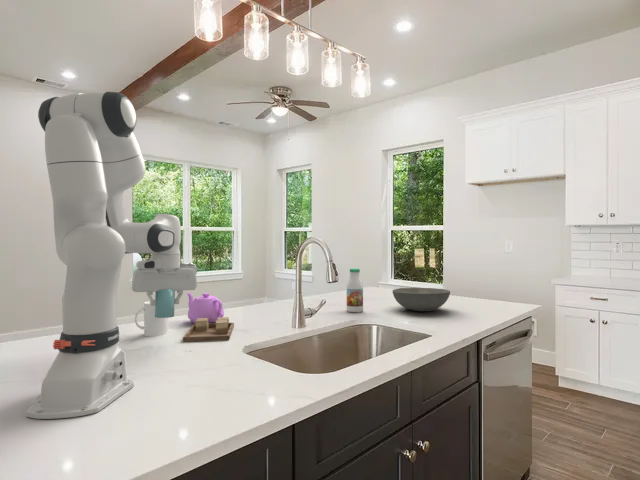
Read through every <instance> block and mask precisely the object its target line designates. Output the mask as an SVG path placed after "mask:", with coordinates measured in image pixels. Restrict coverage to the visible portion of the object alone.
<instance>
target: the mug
mask: <svg viewBox="0 0 640 480" xmlns="http://www.w3.org/2000/svg"><path fill="white" fill-rule="evenodd" d="M141 312H143V325H140V324H139V323H138V322H137V320H138V319H137V318H138V315H139V314H140V313H141ZM134 323H135V326H136V327H137V328H139V329H141V330H143V335H144V336H146V337H158V336H159V337H160V336H164V335H168V334H169V318H156V317H155V306H151V305H150V300H149V301H148V300H147V301H144V302H143V306H142V307H141V308H139V309H138V310H137V312H136V313H135V315H134Z"/></svg>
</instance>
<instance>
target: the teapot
mask: <svg viewBox="0 0 640 480" xmlns="http://www.w3.org/2000/svg"><path fill="white" fill-rule="evenodd" d="M185 293H186V294H187V296H188V311H187V318H188V320H189V321H190V322H191V323H192V324H196V320H197V318H208V323H216V321H217V320H218V318H219V317H225V310H224V307H223V301H222V300H221V299H219V298H218V297H217V296H214V295H210V294H211V293H210V292H203V293H202V296H196V297H195V298H194V295H193V294H192V293H191V292H188V291H186V292H185Z"/></svg>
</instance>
